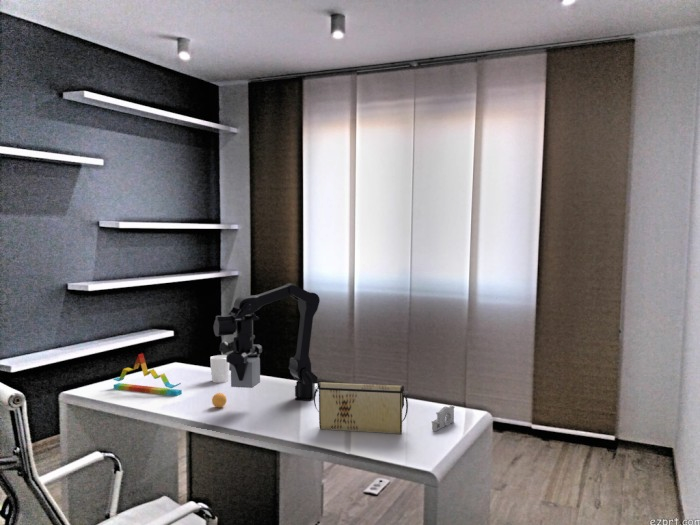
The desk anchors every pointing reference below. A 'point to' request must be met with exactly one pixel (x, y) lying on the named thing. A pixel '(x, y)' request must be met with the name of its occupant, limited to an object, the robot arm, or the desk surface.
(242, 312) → the robot arm
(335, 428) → the clutch purse
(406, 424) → the desk surface
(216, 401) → the ball
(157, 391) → the chart
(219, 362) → the white cup
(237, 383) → the matte grey cube
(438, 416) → the garden wall model
